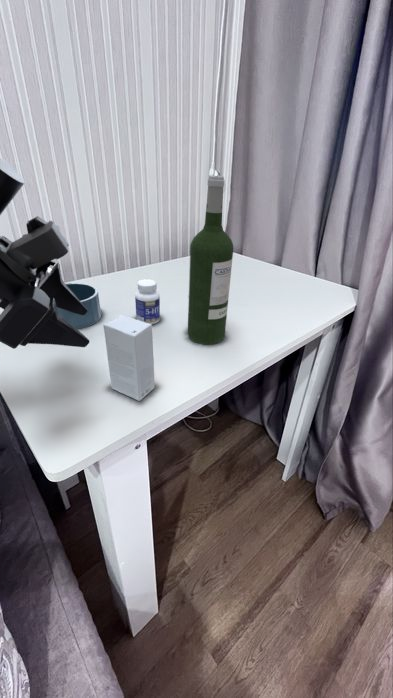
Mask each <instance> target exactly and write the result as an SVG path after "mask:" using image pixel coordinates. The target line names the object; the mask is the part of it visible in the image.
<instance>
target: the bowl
mask: <svg viewBox="0 0 393 698" xmlns="http://www.w3.org/2000/svg"><path fill="white" fill-rule="evenodd" d="M65 284H66V285H67V286H68V288H69V289H70V290H71V291H72V292H73V293H74V295H75V296H76V297H77V298H78V299H79V300H80V301H81V302H82V304H83V305H84V306H85V307H86V308H87V310H88V312H87V313H86V314H85V315H79V314H76V313H72V312H70V311H67V310H64V309H61V308H58V307H57V311H58V314H59V315H60V316H61V317H62V318H64V319H65V320H66V321H67V322H68V323H70V324H71V325H72V326H73V327H75V328H76V329H77V330H79V329H85V328H88V327H91V326H93V325H95V324H96V323H98V322H99V321H100V320H101V318H102V311H101V304H100V303H101V302H100V297H99V289H98V288H97V287H96V286H95V285H92V284H89V283H84V282H68V283H67V282H66V283H65Z"/></svg>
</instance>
